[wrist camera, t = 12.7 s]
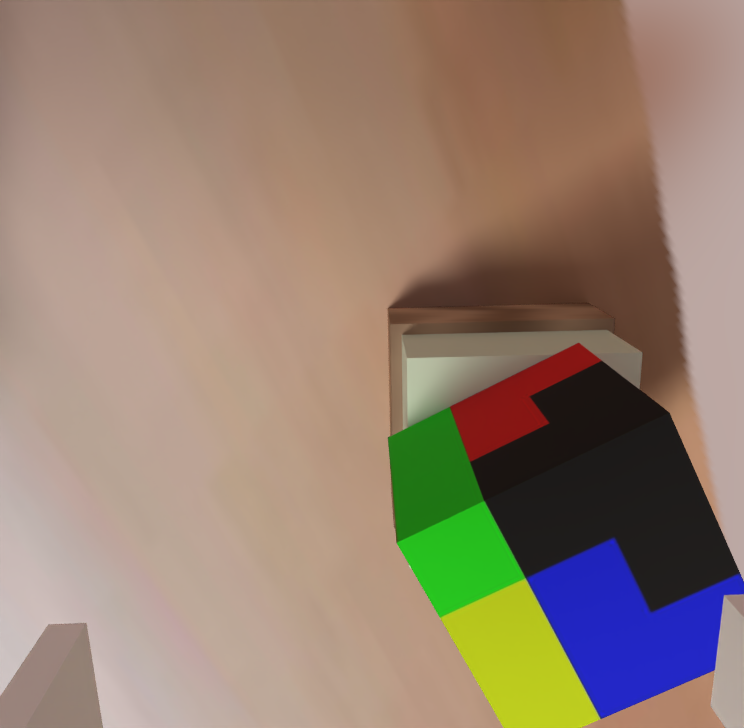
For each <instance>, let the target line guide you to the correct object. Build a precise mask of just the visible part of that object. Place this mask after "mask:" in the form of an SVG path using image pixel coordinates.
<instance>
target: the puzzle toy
mask: <svg viewBox="0 0 744 728" xmlns="http://www.w3.org/2000/svg"><path fill="white" fill-rule="evenodd" d="M388 445H389V457H390V469H391V481H392V493H393V505H394V517H395V529H396V541H397V544H398V546H399V548H400V549H401V551H402V553H403V555H404V556H405V558H406V560H407V562H408V563H409V565H410V567H411V568H412V570H413V572H414V574H415V575H416V577H417V579H418V581H419V582H420V584H421V586H422V587H423V589H424V591H425V593H426V594H427V596H428V598H429V600H430V601H431V603H432V605H433V606H434V608H435V610H436V612H437V613H438V615H439V617H440V619H441V620H442V622H443V624H444V625H445V627H446V629H447V631H448V632H449V634H450V636H451V638H452V639H453V641H454V643H455V644H456V646H457V648H458V650H459V651H460V653H461V655H462V657H463V658H464V660H465V662H466V663H467V665H468V667H469V669H470V670H471V672H472V674H473V676H474V677H475V679H476V681H477V682H478V684H479V686H480V688H481V689H482V691H483V693H484V695H485V696H486V698H487V700H488V701H489V703H490V705H491V707H492V708H493V710H494V712H495V714H496V715H497V717H498V719H499V720H500V722H501V724H502V726H503V727H504V728H581V727H583V726H586V725H588V724H590V723H593V722H595V721H597V720H600V719H602V718H604V717H607V716H609V715H611V714H614V713H616V712H618V711H621V710H623V709H625V708H628V707H630V706H632V705H635V704H637V703H639V702H642V701H644V700H646V699H649V698H651V697H653V696H656V695H658V694H660V693H663V692H665V691H667V690H670V689H672V688H674V687H677V686H679V685H681V684H684V683H686V682H688V681H691V680H693V679H695V678H698V677H700V676H702V675H705V674H707V673H709V672H712V671H714V670H715V666H716V657H717V649H718V641H719V632H720V624H721V616H722V608H723V599H724V595H740V594H744V581H743V579H742V577H741V574H740V572H739V570H738V568H737V565H736V563H735V561H734V559H733V556H732V554H731V552H730V549H729V547H728V545H727V543H726V540H725V538H724V536H723V533H722V531H721V529H720V527H719V524H718V522H717V520H716V518H715V515H714V513H713V511H712V508H711V506H710V504H709V502H708V499H707V497H706V495H705V493H704V490H703V488H702V486H701V483H700V481H699V479H698V477H697V474H696V472H695V470H694V468H693V465H692V463H691V461H690V458H689V456H688V454H687V452H686V449H685V447H684V445H683V443H682V440H681V438H680V436H679V434H678V431H677V429H676V427H675V424H674V422H673V420H672V418H671V415H670V413H669V412H668V411H667V410H665V409H664V408H663V407H661V406H660V405H659V404H658V403H656V402H655V401H654V400H652V399H651V398H650V397H648V396H647V395H646V394H645V393H643V392H642V391H641V390H639V389H638V388H637V387H636V386H634V385H633V384H632V383H630V382H629V381H628V380H627V379H625V378H624V377H623V376H621V375H620V374H619V373H617V372H616V371H615V370H614V369H612V368H611V367H610V366H608V365H607V364H606V363H605V362H603V361H602V360H601V359H599V358H598V357H597V356H596V355H594V354H593V353H592V352H590V351H589V350H588V349H586V348H585V347H584V346H583V345H581V344H580V343H577V344H575V345H573V346H571V347H569V348H567V349H565V350H563V351H561V352H559V353H557V354H555V355H553V356H551V357H549V358H547V359H545V360H543V361H541V362H539V363H537V364H535V365H533V366H531V367H528V368H526V369H524V370H522V371H520V372H518V373H516V374H514V375H512V376H510V377H508V378H506V379H504V380H502V381H500V382H498V383H496V384H494V385H492V386H490V387H488V388H486V389H484V390H482V391H480V392H478V393H476V394H474V395H472V396H470V397H468V398H466V399H464V400H462V401H460V402H458V403H456V404H454V405H452V406H450V407H448V408H446V409H444V410H442V411H440V412H438V413H436V414H434V415H432V416H430V417H428V418H426V419H424V420H422V421H420V422H418V423H416V424H414V425H412V426H410V427H408V428H406V429H404V430H402V431H400V432H398V433H396V434H394V435H392V436H390V437H388Z"/></svg>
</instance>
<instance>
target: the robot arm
mask: <svg viewBox="0 0 744 728" xmlns="http://www.w3.org/2000/svg"><path fill="white" fill-rule="evenodd" d="M711 707H712V709H713V710H714V712H715V713H716V715H717V716H718V718H719V719H720V720H721V722H722V723H723V725H724V726H725V728H744V594H740V595H724V599H723V608H722V616H721V624H720V632H719V641H718V649H717V657H716V666H715V674H714V682H713V691H712V699H711ZM0 728H103V725H102V719H101V713H100V706H99V700H98V693H97V687H96V681H95V674H94V668H93V662H92V655H91V649H90V643H89V636H88V630H87V624H86V623H74V624H51V625H48V626H47V627H46V629H45V630H44V632H43V633H42V635H41V636H40V638H39V639H38V641H37V642H36V644H35V645H34V647H33V648H32V650H31V651H30V653H29V654H28V656H27V657H26V659H25V660H24V662H23V663H22V665H21V666H20V668H19V669H18V671H17V672H16V674H15V675H14V677H13V678H12V680H11V681H10V683H9V684H8V686H7V687H6V689H5V690H4V692H3V693H2V695H1V696H0Z"/></svg>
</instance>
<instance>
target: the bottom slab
mask: <svg viewBox="0 0 744 728" xmlns="http://www.w3.org/2000/svg"><path fill="white" fill-rule="evenodd" d="M614 326H615V318H614V317H612V316H610V315H608V314H607V313H605V312H603V311H601V310H600V309H598V308H596V307H594V306H593V305H591V304H589V303H571V304H534V305H497V306H459V307H422V308H388V350H389V399H390V436H392V435H394V434H396V433H398V432H400V431H402V430H403V394H402V335H416V334H457V333H498V332H539V331H581V330H608V331H610V332H611V333H613V334H614ZM391 494H392V507H393V520H394V528H395V517H394V505H393V493H392V481H391Z"/></svg>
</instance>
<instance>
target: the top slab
mask: <svg viewBox="0 0 744 728" xmlns="http://www.w3.org/2000/svg"><path fill="white" fill-rule="evenodd" d="M577 343H580V344H581V345H583V346H584V347H585V348H586V349H588V350H589V351H590V352H592V353H593V354H594V355H596V356H597V357H598V358H599V359H601V360H602V361H603V362H605V363H606V364H607V365H608V366H610V367H611V368H612V369H614V370H615V371H616V372H617V373H619V374H620V375H621V376H623V377H624V378H625V379H627V380H628V381H629V382H630V383H632V384H633V385H634V386H636V387H637V388H638V389H639V390H640V379H641V366H642V354H643V352H641V351H640V350H638V349H636V348H635V347H633V346H632V345H630V344H629V343H627V342H625V341H624V340H622V339H621V338H619V337H617V336H616V335H614V334H613V333H611V332H610V331H608V330H581V331H539V332H498V333H457V334H416V335H402V394H403V430H404V429H406V428H408V427H410V426H412V425H414V424H416V423H418V422H420V421H422V420H424V419H426V418H428V417H430V416H432V415H434V414H436V413H438V412H440V411H442V410H444V409H446V408H448V407H450V406H452V405H454V404H456V403H458V402H460V401H462V400H464V399H466V398H468V397H470V396H472V395H474V394H476V393H478V392H480V391H482V390H484V389H486V388H488V387H490V386H492V385H494V384H496V383H498V382H500V381H502V380H504V379H506V378H508V377H510V376H512V375H514V374H516V373H518V372H520V371H522V370H524V369H526V368H528V367H531V366H533V365H535V364H537V363H539V362H541V361H543V360H545V359H547V358H549V357H551V356H553V355H555V354H557V353H559V352H561V351H563V350H565V349H567V348H569V347H571V346H573V345H575V344H577ZM409 568H411V567H410V565H409Z"/></svg>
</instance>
